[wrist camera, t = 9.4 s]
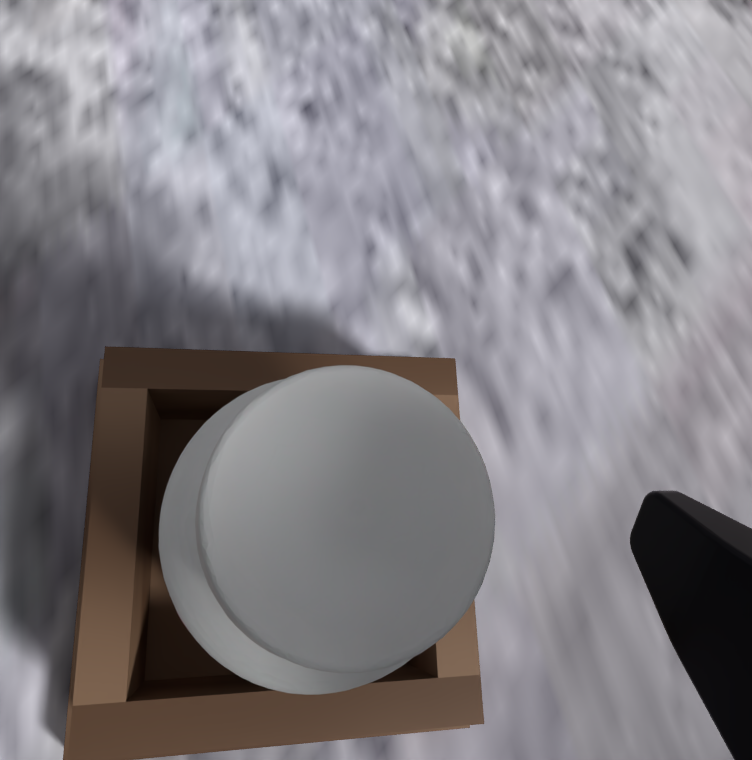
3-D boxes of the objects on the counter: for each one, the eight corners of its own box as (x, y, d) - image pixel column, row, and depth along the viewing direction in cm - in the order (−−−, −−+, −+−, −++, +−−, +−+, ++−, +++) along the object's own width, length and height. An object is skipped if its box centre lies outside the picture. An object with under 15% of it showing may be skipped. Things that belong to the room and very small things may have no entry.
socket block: (457, 720, 18) (516, 756, 14) (72, 755, 16) (23, 808, 12) (433, 379, 21) (478, 334, 17) (106, 370, 19) (75, 316, 15)
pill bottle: (160, 643, 16) (84, 722, 7) (200, 433, 18) (182, 277, 9) (370, 661, 17) (545, 751, 8) (389, 461, 19) (550, 348, 10)
